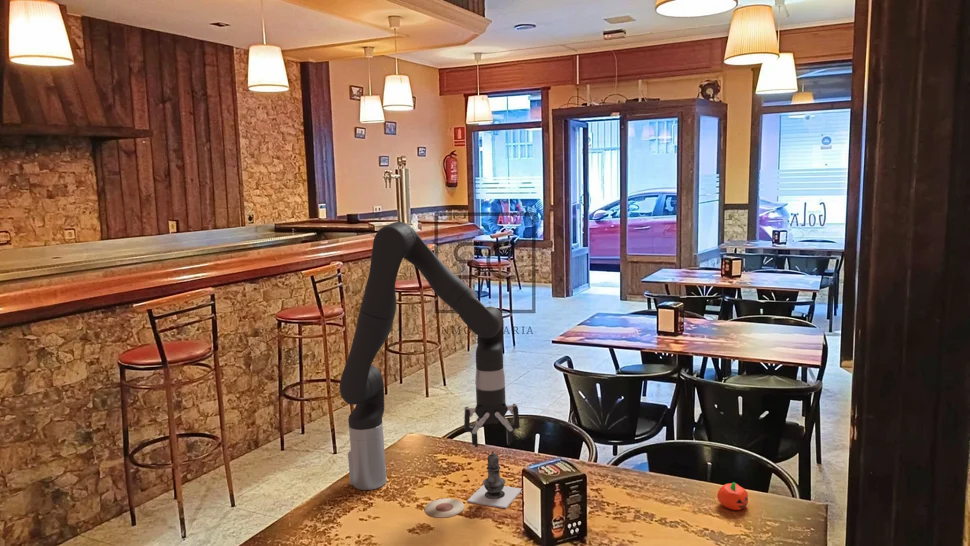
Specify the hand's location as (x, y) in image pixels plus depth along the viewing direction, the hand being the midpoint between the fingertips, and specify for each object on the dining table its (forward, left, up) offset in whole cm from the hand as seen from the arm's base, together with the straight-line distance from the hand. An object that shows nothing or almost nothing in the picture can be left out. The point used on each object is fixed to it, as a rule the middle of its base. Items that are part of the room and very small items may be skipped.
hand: (492, 445), depth 176 cm
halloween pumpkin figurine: (+58, +14, -14) cm, 61 cm away
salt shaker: (0, 0, -14) cm, 14 cm away
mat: (0, 0, -14) cm, 14 cm away
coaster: (-9, -11, -14) cm, 20 cm away
